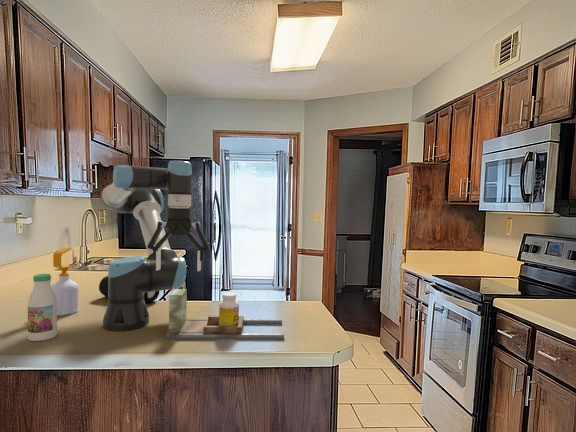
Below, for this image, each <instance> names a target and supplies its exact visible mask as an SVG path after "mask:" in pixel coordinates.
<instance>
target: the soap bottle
mask: <svg viewBox="0 0 576 432" xmlns="http://www.w3.org/2000/svg"><path fill="white" fill-rule="evenodd" d="M69 251H71V248H70V247H63V248H60V249H58V250H56V251H55V252H54V253H53V257H52V260H53V261H52V263H53V265H52V266H53V267H54V268H57V269H59V271H61V273H59V274H58V280H57V281H56V282H54V283H53V284H51V288H52V290H53V292H54V293H55V296H56V300H57V317H59V316H61V317H62V316H63V317H64V316H68V315H69V316H70V315H73V314H76V312H78V311H79V286H78V283H77V282H75V281H74V280H72V279H70V273H69V272H67V271H69V268H73V265H69V264H64V265H62V256H63V254H65V253H67V252H69Z"/></svg>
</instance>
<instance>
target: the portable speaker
mask: <svg viewBox="0 0 576 432" xmlns="http://www.w3.org/2000/svg"><path fill="white" fill-rule="evenodd" d="M98 291H99V292H100V294H102V296H104V297H106V298H108V275H106V276H104V277H103V278H102V279H101V280H100V282H99V284H98ZM160 292H161V291H152V292H145V293H144V302H145V304H148V303H152V302H155V301H156V300H157V298H158V297H159V294H160Z"/></svg>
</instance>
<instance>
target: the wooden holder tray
mask: <svg viewBox="0 0 576 432" xmlns="http://www.w3.org/2000/svg"><path fill="white" fill-rule="evenodd" d="M187 289H188V288H176V289H173V290H172V292H171V293H170V294H169V295H168V329H167V330H166V331H165V335H166V334H167V333H243V331H244V325H245V324H244V319H245V317H244V315H239V321H238V326H219V315H208V316H207V317H208V318H207V319H208V321H191V320H186V319H187V307H188V305H187V303H188V301H187V300H188V297H187V295H188V291H187Z"/></svg>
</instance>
